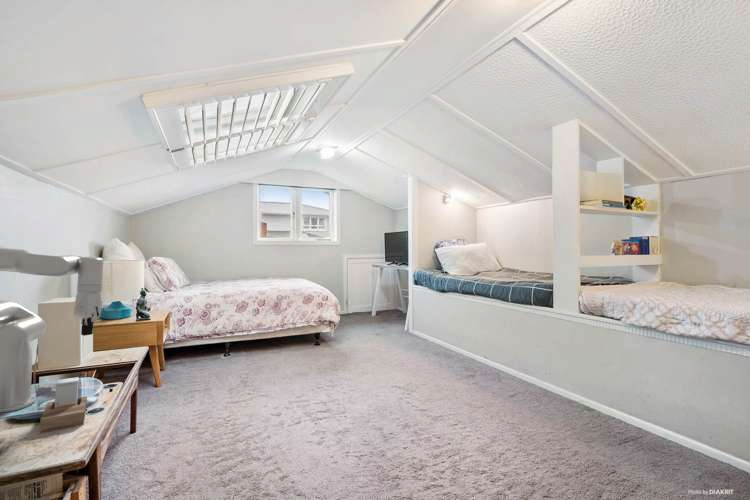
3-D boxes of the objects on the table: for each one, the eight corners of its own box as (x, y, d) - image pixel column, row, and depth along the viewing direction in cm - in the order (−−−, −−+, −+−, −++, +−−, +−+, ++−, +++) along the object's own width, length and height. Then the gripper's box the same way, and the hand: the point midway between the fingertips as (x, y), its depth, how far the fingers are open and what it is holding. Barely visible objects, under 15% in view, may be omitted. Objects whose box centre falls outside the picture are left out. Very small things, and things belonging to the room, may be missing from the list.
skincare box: (53, 418, 122) (55, 383, 122) (55, 412, 125) (56, 379, 125) (76, 413, 126) (78, 380, 125) (77, 409, 129) (79, 376, 129)
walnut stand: (46, 415, 125) (47, 402, 125) (86, 408, 132) (86, 396, 132) (39, 433, 114) (40, 419, 114) (83, 424, 121) (84, 411, 121)
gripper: (68, 287, 138) (65, 333, 138) (89, 291, 131) (86, 339, 131) (90, 285, 144) (87, 330, 144) (111, 289, 138) (108, 335, 138)
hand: (86, 334), depth 138 cm, fingers closed
